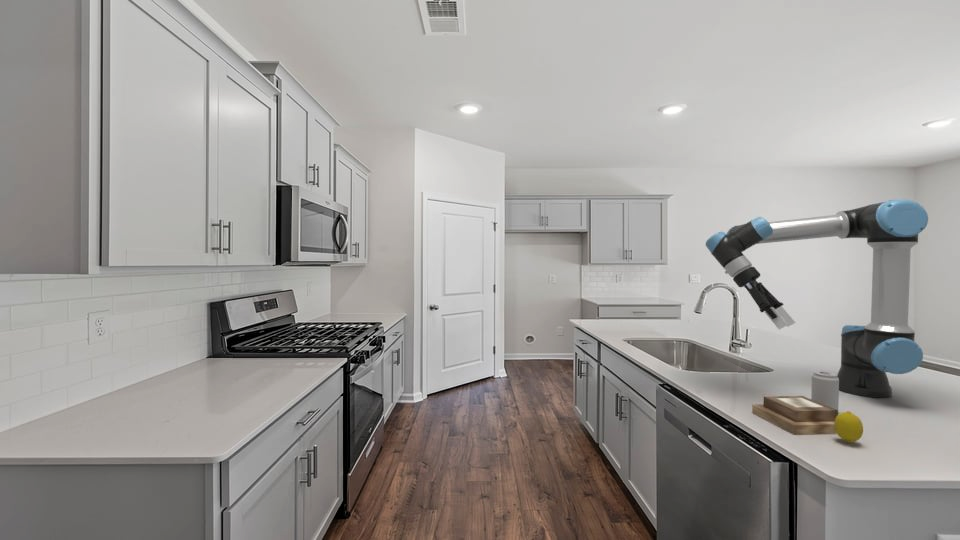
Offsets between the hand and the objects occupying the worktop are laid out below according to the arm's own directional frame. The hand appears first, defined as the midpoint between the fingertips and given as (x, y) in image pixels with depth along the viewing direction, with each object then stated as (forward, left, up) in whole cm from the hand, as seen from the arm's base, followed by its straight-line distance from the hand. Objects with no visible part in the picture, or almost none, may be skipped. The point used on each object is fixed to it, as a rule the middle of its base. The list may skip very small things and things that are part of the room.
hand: (787, 326), depth 136 cm
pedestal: (+8, +14, -25) cm, 30 cm away
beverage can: (-6, +7, -25) cm, 27 cm away
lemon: (+6, +28, -25) cm, 38 cm away
